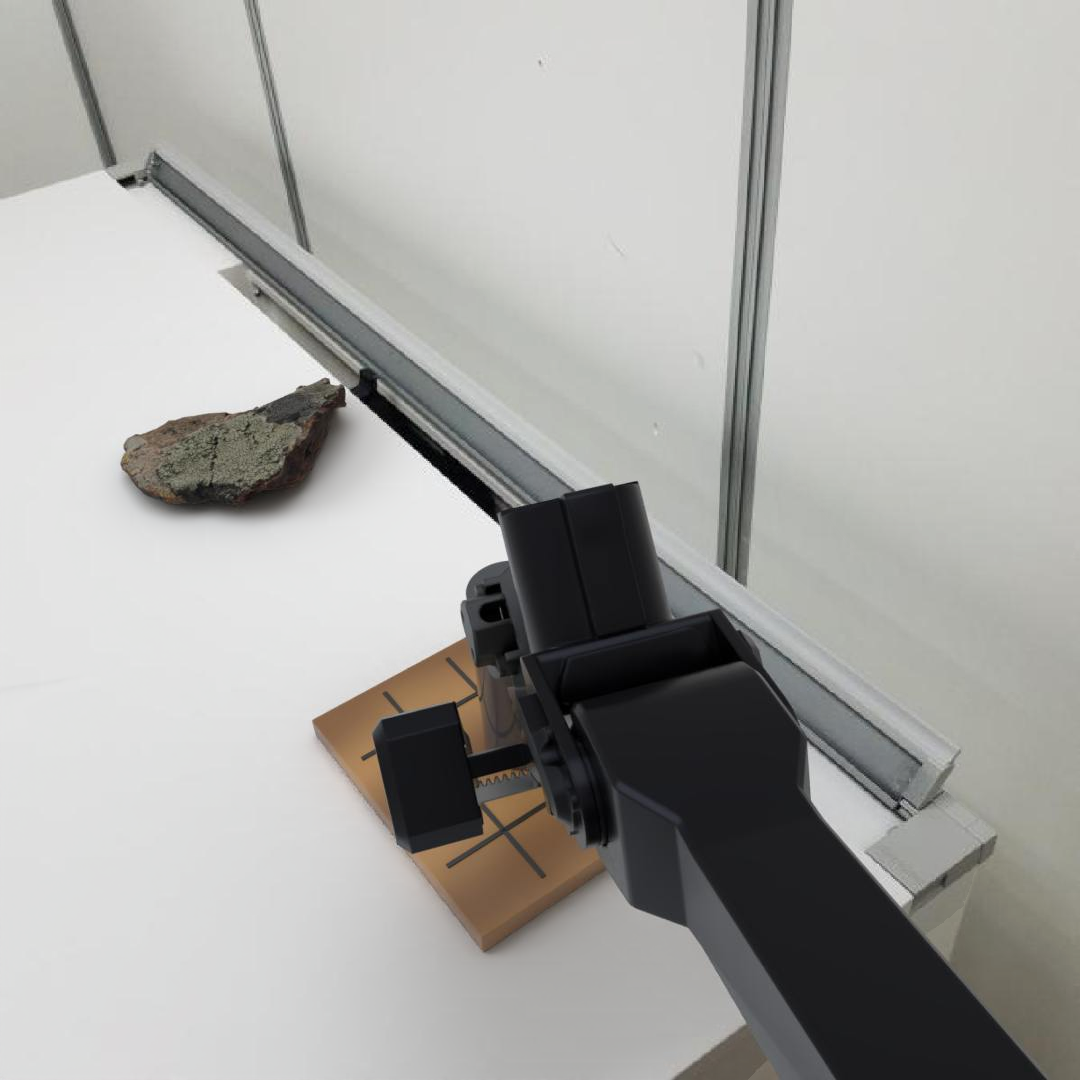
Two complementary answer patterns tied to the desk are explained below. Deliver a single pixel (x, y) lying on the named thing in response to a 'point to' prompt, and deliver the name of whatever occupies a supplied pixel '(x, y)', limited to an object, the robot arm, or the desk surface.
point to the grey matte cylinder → (495, 686)
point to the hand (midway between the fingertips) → (548, 728)
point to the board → (509, 823)
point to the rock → (234, 449)
